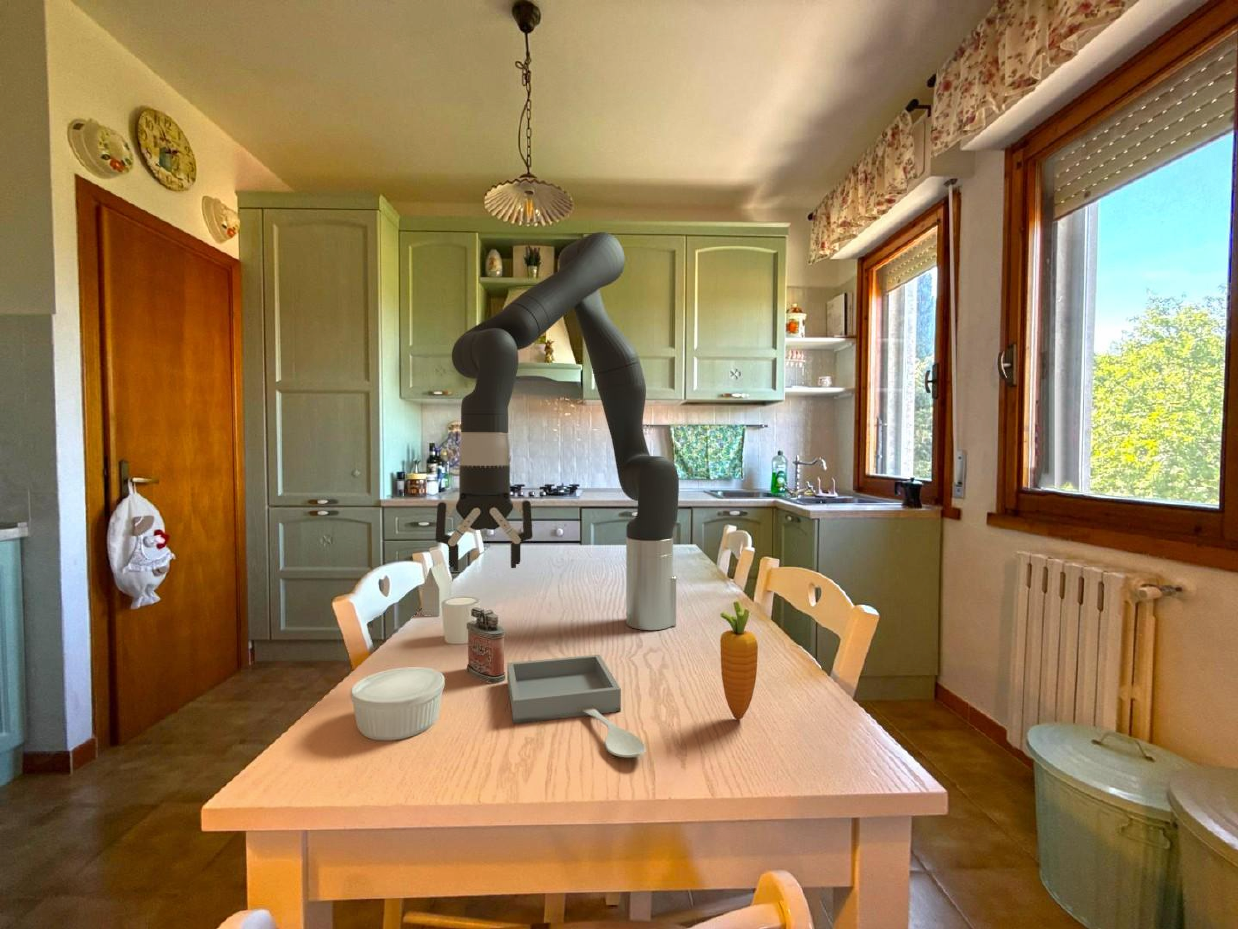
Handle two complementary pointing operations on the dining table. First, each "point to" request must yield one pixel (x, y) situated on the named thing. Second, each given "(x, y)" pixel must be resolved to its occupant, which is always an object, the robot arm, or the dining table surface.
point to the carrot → (738, 662)
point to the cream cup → (458, 618)
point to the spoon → (619, 738)
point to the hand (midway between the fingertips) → (484, 568)
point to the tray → (561, 688)
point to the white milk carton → (436, 590)
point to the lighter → (485, 646)
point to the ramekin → (397, 702)
